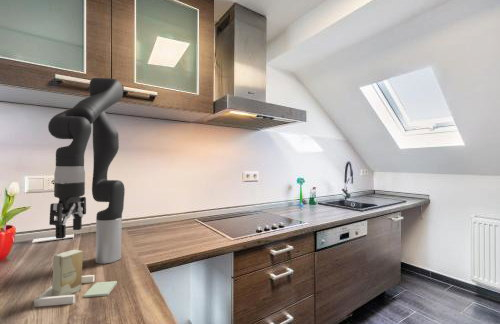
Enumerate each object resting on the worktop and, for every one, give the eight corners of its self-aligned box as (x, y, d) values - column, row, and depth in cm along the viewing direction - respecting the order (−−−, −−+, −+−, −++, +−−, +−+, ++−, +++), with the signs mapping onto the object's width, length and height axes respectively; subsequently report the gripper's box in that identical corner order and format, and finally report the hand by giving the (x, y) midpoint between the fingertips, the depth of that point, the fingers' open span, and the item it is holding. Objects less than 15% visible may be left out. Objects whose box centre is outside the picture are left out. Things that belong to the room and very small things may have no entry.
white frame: (62, 283, 79) (62, 277, 79) (94, 280, 81) (94, 274, 81) (34, 307, 65) (34, 299, 65) (73, 303, 67) (73, 296, 67)
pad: (95, 284, 78) (95, 282, 78) (117, 282, 79) (117, 280, 79) (83, 297, 70) (83, 295, 70) (107, 295, 72) (107, 293, 72)
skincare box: (60, 299, 69) (61, 257, 69) (51, 296, 71) (52, 255, 71) (82, 289, 75) (83, 250, 75) (73, 286, 77) (74, 248, 77)
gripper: (70, 179, 79) (69, 227, 79) (39, 183, 65) (38, 241, 65) (94, 179, 80) (94, 227, 80) (69, 183, 66) (68, 240, 66)
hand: (69, 233), depth 73 cm, fingers open, 8 cm apart
